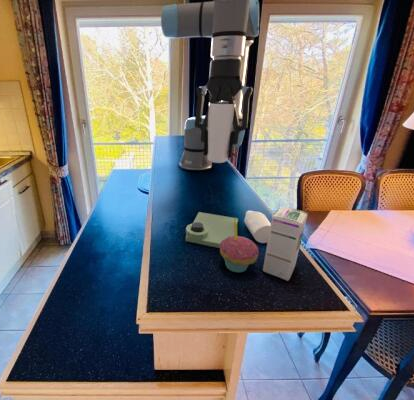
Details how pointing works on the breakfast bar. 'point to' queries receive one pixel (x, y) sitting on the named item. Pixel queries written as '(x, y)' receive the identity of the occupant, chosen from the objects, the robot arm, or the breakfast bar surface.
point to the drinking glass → (219, 130)
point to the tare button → (197, 227)
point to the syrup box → (284, 242)
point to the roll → (258, 225)
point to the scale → (211, 229)
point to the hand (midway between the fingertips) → (217, 154)
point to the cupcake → (238, 251)
